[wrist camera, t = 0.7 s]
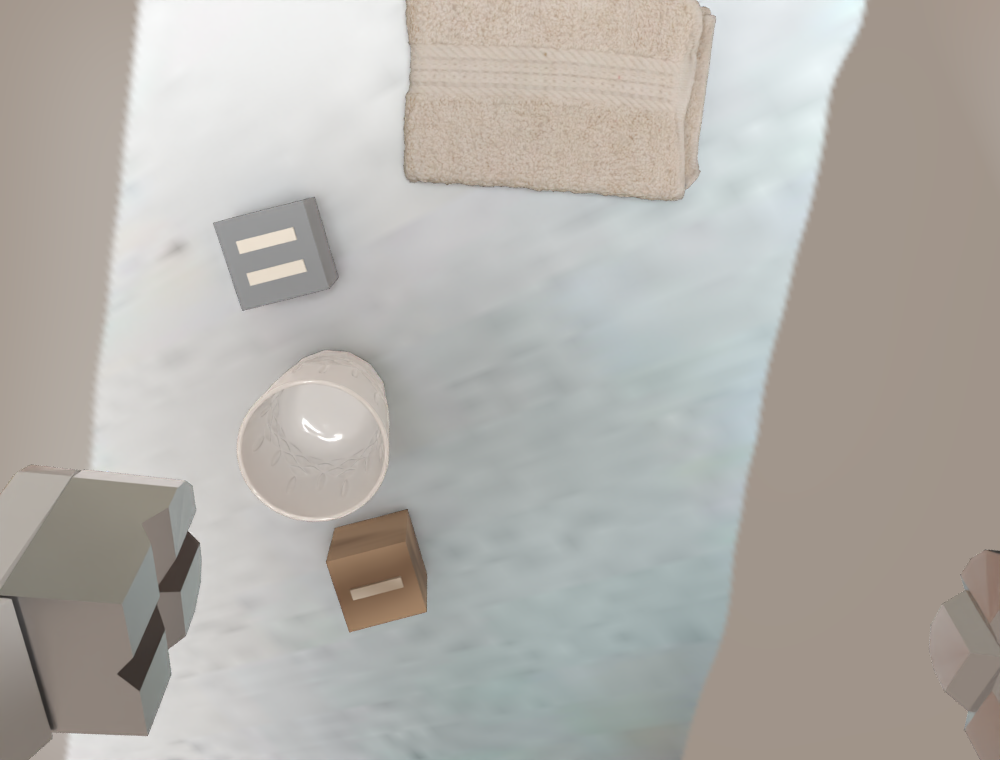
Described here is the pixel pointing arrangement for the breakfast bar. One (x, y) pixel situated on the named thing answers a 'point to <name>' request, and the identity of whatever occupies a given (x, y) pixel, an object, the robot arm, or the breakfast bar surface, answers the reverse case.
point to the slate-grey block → (277, 253)
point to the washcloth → (558, 94)
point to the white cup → (317, 438)
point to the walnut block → (378, 570)
